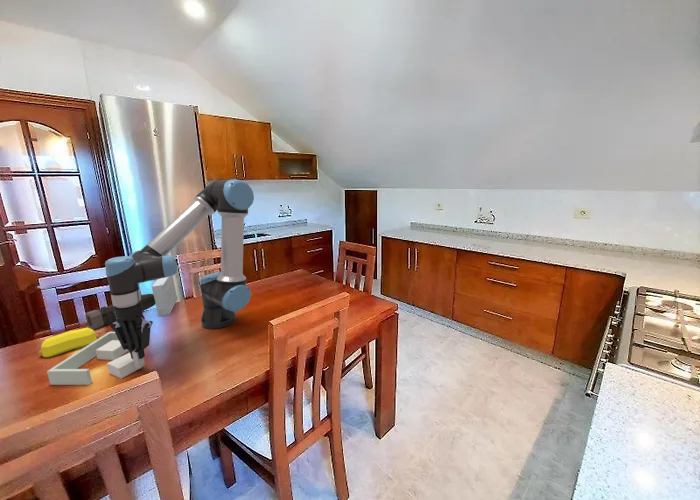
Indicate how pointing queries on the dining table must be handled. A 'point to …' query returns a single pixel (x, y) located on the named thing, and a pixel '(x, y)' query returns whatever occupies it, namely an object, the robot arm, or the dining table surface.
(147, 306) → the black handheld tool
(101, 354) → the tile
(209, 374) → the dining table surface
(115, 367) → the tile
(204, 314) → the robot arm
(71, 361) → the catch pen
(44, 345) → the yellow bevelled bar
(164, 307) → the skincare box
